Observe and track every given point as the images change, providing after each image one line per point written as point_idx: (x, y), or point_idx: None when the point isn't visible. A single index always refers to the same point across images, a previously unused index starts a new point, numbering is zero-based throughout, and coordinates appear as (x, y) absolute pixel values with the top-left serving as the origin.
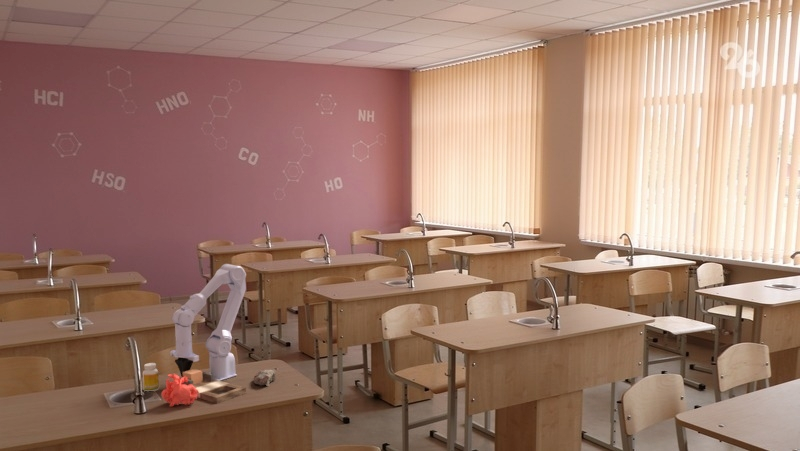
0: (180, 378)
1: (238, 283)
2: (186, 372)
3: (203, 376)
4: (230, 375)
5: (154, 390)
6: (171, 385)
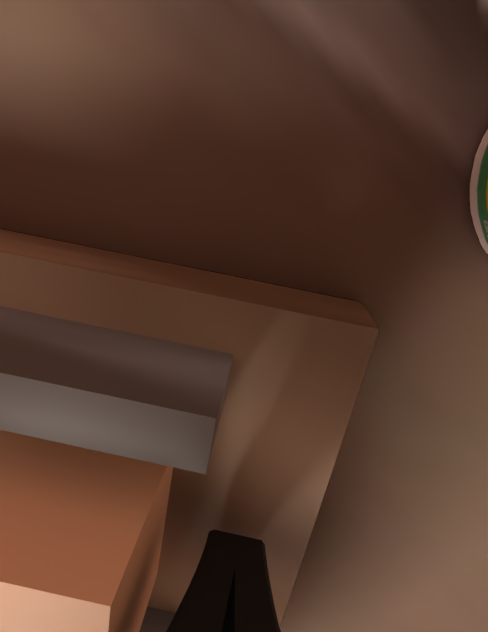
0: (55, 405)
1: None
2: (8, 604)
3: None
4: None
5: (486, 132)
6: (257, 301)
